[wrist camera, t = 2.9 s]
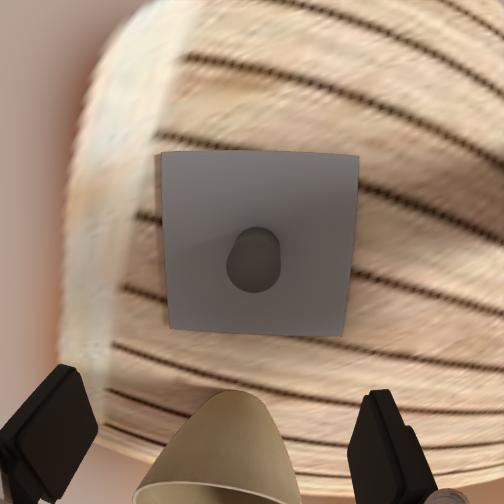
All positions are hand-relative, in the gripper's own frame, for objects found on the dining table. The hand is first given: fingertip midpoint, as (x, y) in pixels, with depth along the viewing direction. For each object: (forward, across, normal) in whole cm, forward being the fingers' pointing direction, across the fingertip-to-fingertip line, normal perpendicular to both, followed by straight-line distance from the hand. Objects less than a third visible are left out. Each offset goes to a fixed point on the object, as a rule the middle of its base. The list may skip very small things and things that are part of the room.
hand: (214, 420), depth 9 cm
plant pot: (+21, +2, +20) cm, 29 cm away
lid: (+22, 0, 0) cm, 22 cm away
